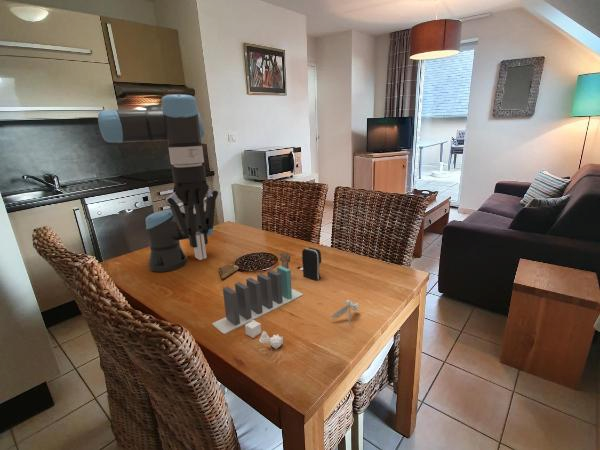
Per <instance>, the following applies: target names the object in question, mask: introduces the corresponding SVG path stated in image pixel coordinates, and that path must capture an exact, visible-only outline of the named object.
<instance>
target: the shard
mask: <svg viewBox="0 0 600 450" xmlns="http://www.w3.org/2000/svg"><path fill="white" fill-rule="evenodd" d="M238 269H240V267H239V266H238V265H236V264H231V263H225V264H224V265H222V266H220V267H218V269H217V270H218V272H219V274H220V275H219V276H220V277H221V279H224V278H227V277H228V276H230V275H231V274H233V273H234V272H236V271H239V270H238Z"/></svg>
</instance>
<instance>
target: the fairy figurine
mask: <svg viewBox="0 0 600 450" xmlns="http://www.w3.org/2000/svg"><path fill="white" fill-rule="evenodd" d="M359 308H360V306H359V302H357V303H355V301H354V302H353V300H350V299H346V301H345V306H344V307H342V308H341V309H339V310H338V311H336V312H334V314H332V315H331V318H337V317H341V316H343V315H344V314H346V312H347V310H348V325H351V320H352V316H351V315H352V313H351V309H352V310H353V311H358V310H359Z"/></svg>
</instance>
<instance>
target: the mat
mask: <svg viewBox="0 0 600 450" xmlns="http://www.w3.org/2000/svg"><path fill="white" fill-rule="evenodd" d="M303 296H304V294H303V293H302V292H300V291H298V290H296V289H294V288H292V298H291V299H289V300H288V299H286V298H284V297H283V296H282V298H283V302H282V303H280V304H278V303H276V302H274V301H273V307H272V308H270V309H268V308H266V307H264V306H263V305H262V311H263V312H262V313H260V314H257V313H255V312H254V311H252V310H251V315H252V318H250V319H248V320H247V319H245V318H244V317H242V316H241V315H240V314H239V317H240V324H238V325H236V326H235V325H234V324H233V323H231V322H230V321H229V320H227V319H226V316H224V317H223V318H221V319H219V320H216V321H214V322H213V323H211V325H212V327H213V326H214V327H215V328H216V329H217V330H218V331H220V332H221V333H222V334H223V335H226V334H228V333H230V332H232V331H234V330H237V329H238V328H241V327H242V326H245V325H246V324H248V323H250V322H252V320H257V319H258V318H260V317H263V316H264V315H266V314H268V313H270V312H272V311H274V310H276V309H279V308H280V307H283V306H284V305H286V304H288V303H291V302H292V301H295V300H297V299H298V298H301V297H303Z"/></svg>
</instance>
